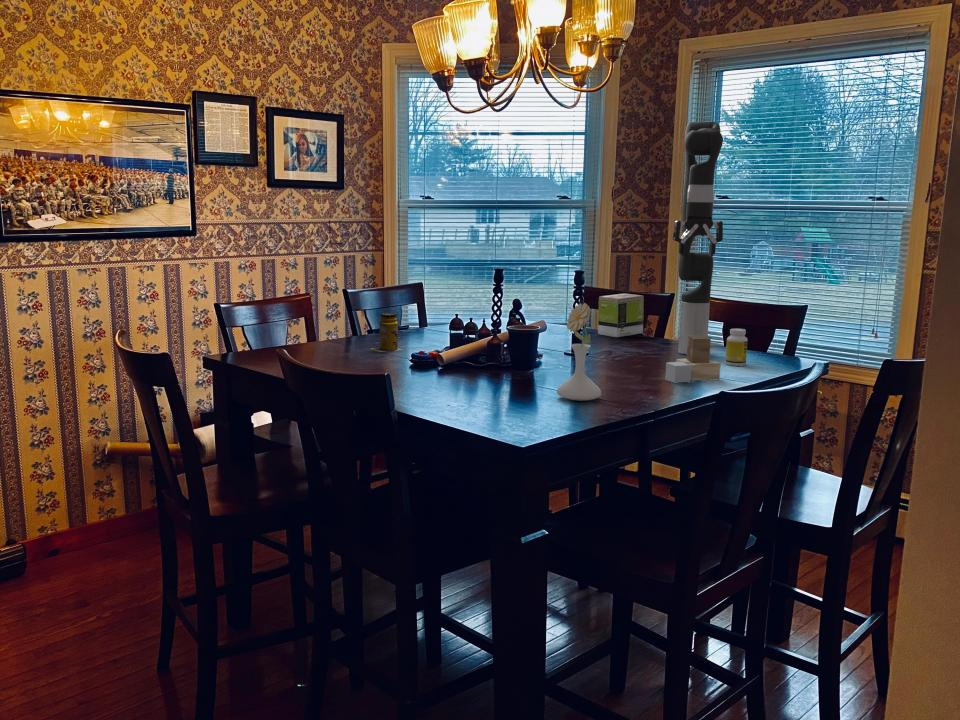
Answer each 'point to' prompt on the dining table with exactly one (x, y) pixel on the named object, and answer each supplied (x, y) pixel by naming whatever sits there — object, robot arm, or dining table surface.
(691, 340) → the walnut block
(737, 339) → the pill bottle
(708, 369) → the maple block
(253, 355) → the dining table surface
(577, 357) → the flower in vase
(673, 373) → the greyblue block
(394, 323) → the condiment
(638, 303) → the tea box
